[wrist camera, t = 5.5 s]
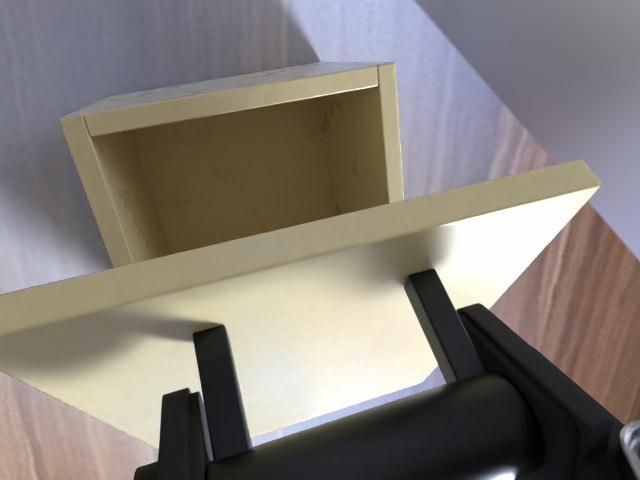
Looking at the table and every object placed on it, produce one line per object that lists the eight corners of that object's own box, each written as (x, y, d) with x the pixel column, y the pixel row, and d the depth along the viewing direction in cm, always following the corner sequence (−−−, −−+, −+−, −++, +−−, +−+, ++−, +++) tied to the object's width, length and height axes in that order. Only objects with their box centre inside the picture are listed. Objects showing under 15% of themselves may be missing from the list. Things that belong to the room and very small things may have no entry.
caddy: (107, 96, 25) (57, 118, 15) (321, 61, 27) (395, 61, 18) (181, 326, 31) (178, 445, 22) (350, 281, 34) (415, 370, 24)
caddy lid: (-47, 303, 7) (-100, 735, 5) (582, 156, 10) (775, 390, 7) (177, 443, 21) (194, 574, 19) (416, 368, 24) (461, 475, 21)
